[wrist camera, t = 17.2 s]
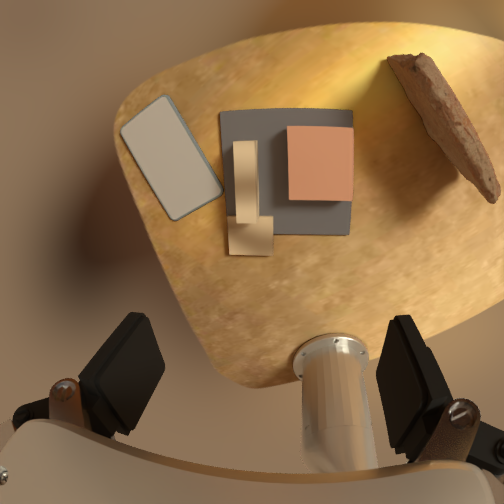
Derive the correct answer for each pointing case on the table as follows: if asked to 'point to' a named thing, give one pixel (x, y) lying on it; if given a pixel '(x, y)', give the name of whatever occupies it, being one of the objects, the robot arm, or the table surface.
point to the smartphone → (171, 158)
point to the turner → (248, 206)
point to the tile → (320, 163)
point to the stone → (446, 120)
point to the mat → (282, 168)
